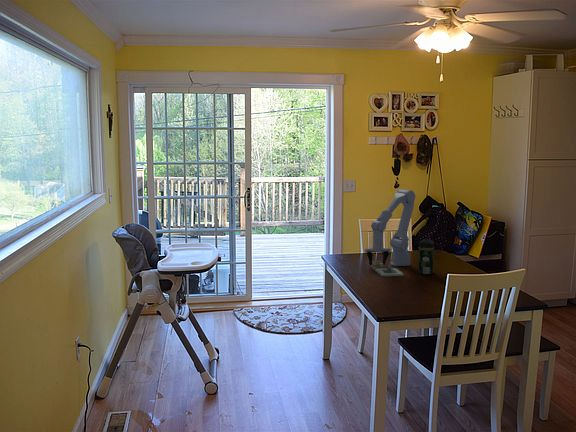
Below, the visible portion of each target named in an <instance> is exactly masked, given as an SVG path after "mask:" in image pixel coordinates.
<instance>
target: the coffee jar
mask: <svg viewBox="0 0 576 432" xmlns="http://www.w3.org/2000/svg"><path fill="white" fill-rule="evenodd" d="M418 244H419V246H418V264H417V265H418V266H417V267H418V269H417V270H418V273H419V275H423V276H424V275H425V276H427V275H432V274H433V272H434V253H435V252H434V251H435V242H434V241H433V240H432V239H427V238H424V239H422V240H420V241H419V243H418Z"/></svg>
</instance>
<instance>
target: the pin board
mask: <svg viewBox="0 0 576 432" xmlns="http://www.w3.org/2000/svg"><path fill="white" fill-rule="evenodd" d="M374 270H375V272H376V273H378V275H380V276H381V277H403V276H404V275H405V274H404V273H403V272H402V271H400V269H399V268H395V267H394V268H392V264H391V263H389V264H388V265H387V268H383V269H374Z"/></svg>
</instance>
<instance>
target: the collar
mask: <svg viewBox="0 0 576 432" xmlns="http://www.w3.org/2000/svg"><path fill="white" fill-rule="evenodd" d="M370 267H371V268H372V269H373V270H375V269H384V265H383V263H382V261H372V265H370Z"/></svg>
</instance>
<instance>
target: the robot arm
mask: <svg viewBox="0 0 576 432" xmlns="http://www.w3.org/2000/svg"><path fill="white" fill-rule="evenodd" d="M416 196H417V195H416V194H415V192H414V191H413V190H412V189H411V190H409V189H403V188H402V189H401V188H399V189H397V190H396V192H395V193H394V197H393V199H392V200H391V202H390V204H389V205H388V207H387V209H384V210H382V211H381V213H380V215H379V216H378V217H377V219H376V220H373V221H372V222H371V225H370V228H371V229H372V247H371V248H364V253H365V254H366V256H367V259H368V262H369V265H370V266H371V265H372V262H373V253H382V261H381V262H382V263H383V266H385V265H386V261H387V259H388V257H389V255H390V253H391V249H392V261H389V264H390V265H391V266H394V267H401V266H402V267H406V266H410V260H411V257H410V256H411V255H410V251H409V249H408V247H409V239H410V238H409V236H408V235H407V234H408V230H409V226H410V223H411V222H410V221H411V219H412V214H413V211H414V207H415V199H416ZM400 204H402V206H403V209H402V212H401V216H400V220H399V222H398V223H399V224H398V228H397V231H396V232H395V233H394V234H393V235H392V237H391V239H390V242H389V244H390V247H391V248H387V247H384V231H385V230H386V228H387V224H388V222H389V221H390V220H391V218H392V217H393V212H394V211H395V210H396V209H397V208H398V207H399V205H400Z"/></svg>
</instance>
